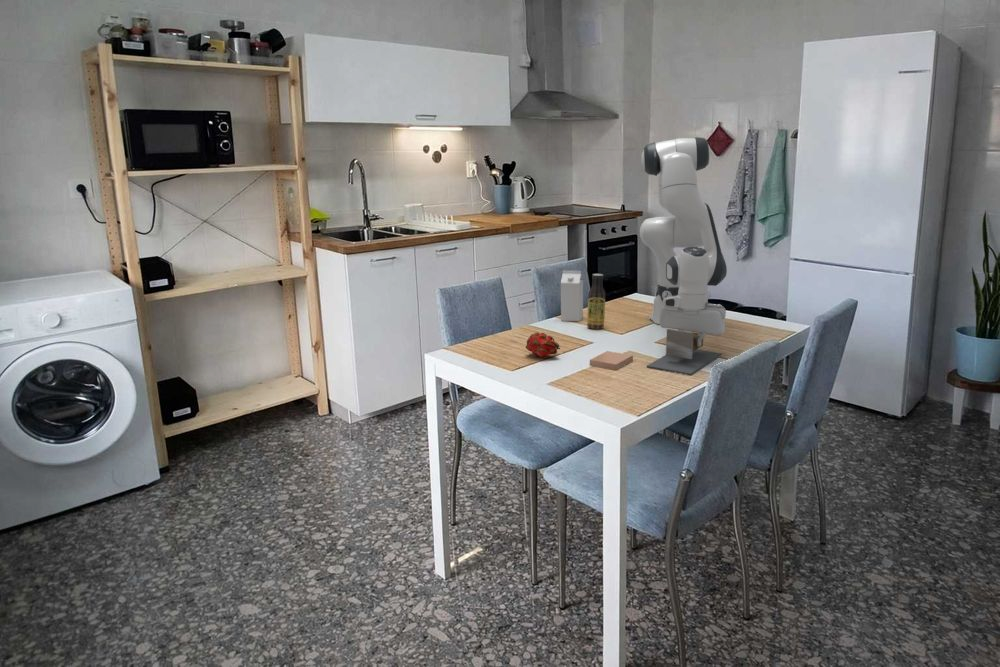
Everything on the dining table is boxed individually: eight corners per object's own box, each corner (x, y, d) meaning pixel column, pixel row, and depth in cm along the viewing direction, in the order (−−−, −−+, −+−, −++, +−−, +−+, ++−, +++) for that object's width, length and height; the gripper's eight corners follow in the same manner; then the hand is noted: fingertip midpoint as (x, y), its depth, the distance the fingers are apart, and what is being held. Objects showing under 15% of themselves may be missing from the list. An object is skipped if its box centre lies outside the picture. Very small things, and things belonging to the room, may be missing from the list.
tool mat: (680, 348, 230) (680, 346, 230) (722, 355, 221) (722, 353, 221) (646, 367, 212) (646, 365, 211) (690, 375, 203) (690, 373, 203)
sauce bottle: (586, 329, 256) (587, 276, 251) (587, 325, 262) (587, 272, 257) (605, 329, 255) (605, 275, 250) (605, 325, 261) (605, 272, 256)
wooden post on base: (686, 343, 226) (687, 319, 224) (710, 347, 221) (711, 322, 219) (665, 354, 214) (666, 329, 212) (690, 359, 209) (692, 333, 207)
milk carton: (565, 316, 277) (564, 268, 272) (583, 317, 274) (583, 269, 269) (561, 321, 270) (560, 272, 265) (579, 321, 268) (579, 272, 263)
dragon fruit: (526, 357, 231) (557, 367, 225) (516, 348, 224) (548, 359, 218) (536, 334, 233) (567, 344, 227) (526, 324, 225) (559, 334, 219)
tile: (607, 351, 223) (589, 359, 215) (633, 355, 218) (616, 364, 210) (607, 357, 224) (589, 366, 216) (632, 362, 219) (616, 371, 210)
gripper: (730, 303, 211) (727, 347, 214) (666, 295, 223) (665, 337, 227) (722, 307, 206) (719, 352, 210) (657, 299, 218) (656, 342, 222)
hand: (690, 344), depth 218 cm, fingers closed on wooden post on base, 3 cm apart
